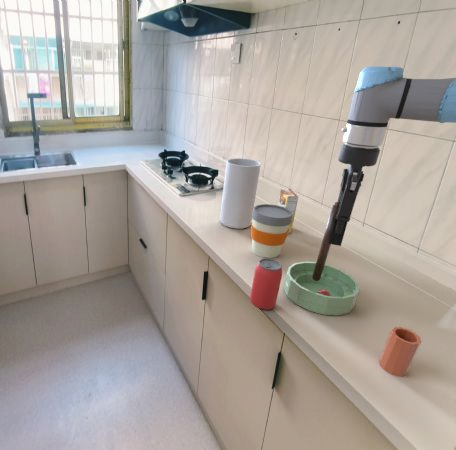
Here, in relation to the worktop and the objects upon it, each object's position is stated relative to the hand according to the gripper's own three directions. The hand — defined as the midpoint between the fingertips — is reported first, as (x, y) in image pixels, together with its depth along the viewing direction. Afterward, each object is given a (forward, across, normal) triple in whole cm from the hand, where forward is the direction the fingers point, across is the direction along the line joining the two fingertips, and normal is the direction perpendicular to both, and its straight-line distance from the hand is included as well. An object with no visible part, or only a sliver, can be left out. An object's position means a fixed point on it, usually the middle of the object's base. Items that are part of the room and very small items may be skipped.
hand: (334, 241), depth 83 cm
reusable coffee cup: (+18, -23, -17) cm, 34 cm away
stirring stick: (+12, 0, -2) cm, 12 cm away
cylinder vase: (+18, -42, -32) cm, 56 cm away
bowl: (+18, -3, 0) cm, 18 cm away
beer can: (+18, +7, -13) cm, 24 cm away
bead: (+16, 0, +1) cm, 16 cm away
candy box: (+18, -46, -14) cm, 51 cm away
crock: (+18, +17, +15) cm, 29 cm away
